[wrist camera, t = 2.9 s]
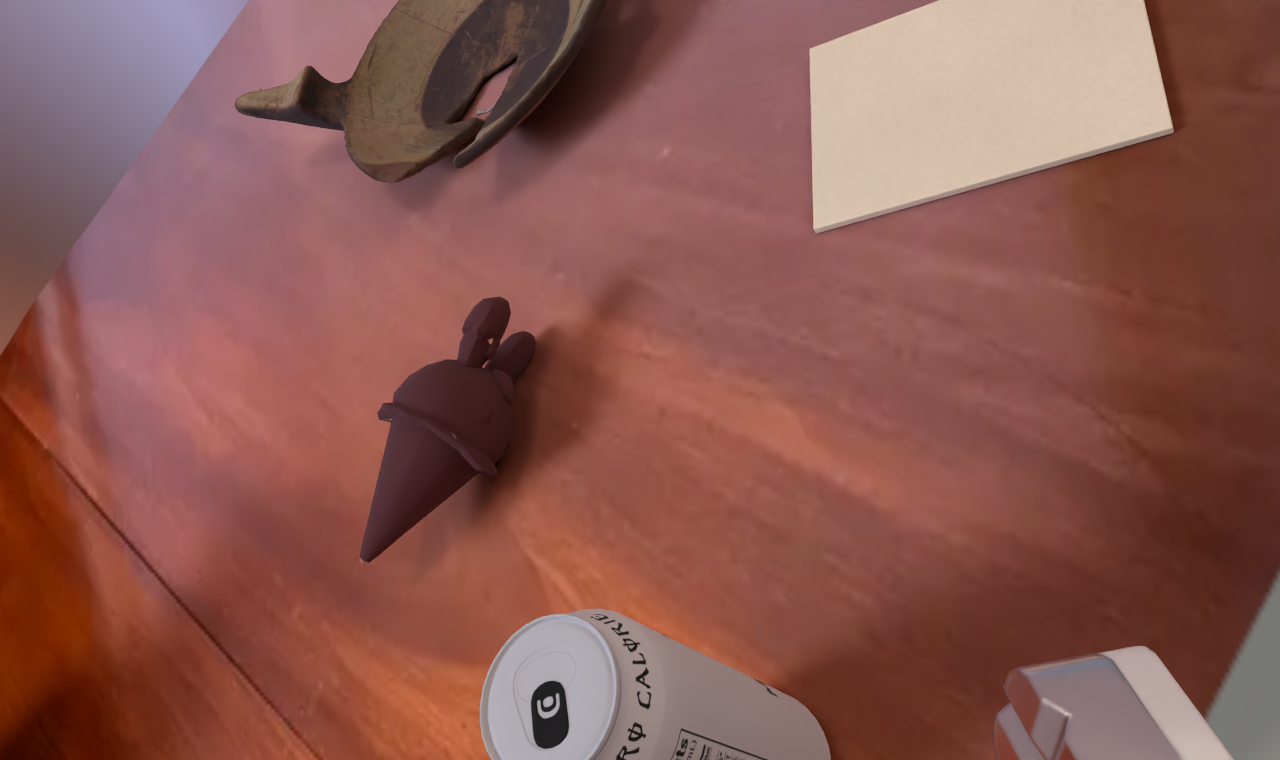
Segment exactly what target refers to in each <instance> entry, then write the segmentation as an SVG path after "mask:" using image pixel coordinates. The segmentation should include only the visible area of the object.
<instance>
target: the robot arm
mask: <svg viewBox="0 0 1280 760" xmlns="http://www.w3.org/2000/svg"><path fill="white" fill-rule="evenodd" d="M1003 690H1004V691H1005V693H1006V695H1007V697H1008V699H1009V701H1010V702H1009V703H1008V704H1007V705H1006V706H1005V707H1004V708H1003V709H1002V710H1001V711H1000V712H999V713H997V714H996V719H995V724H994V729H993V734H992V735H993V742H994V750H995V758H996V760H1234V759H1233V758H1232V756H1231V755H1230V754H1229V752H1228V751H1227V750H1226V748H1225V747H1224V746H1223V744H1222V743H1221V742H1220V740H1219V739H1218V737H1217V736H1216V735H1215V733H1214V732H1213V731H1212V729H1211V728H1210V727H1209V725H1208V724H1207V722H1206V721H1205V720H1204V718H1203V717H1202V716H1201V714H1200V713H1199V712H1198V710H1197V709H1196V708H1195V706H1194V705H1193V704H1192V702H1191V701H1190V700H1189V698H1188V697H1187V695H1186V694H1185V693H1184V691H1183V690H1182V689H1181V687H1180V686H1179V685H1178V683H1177V682H1176V681H1175V679H1174V678H1173V677H1172V675H1171V674H1170V673H1169V671H1168V670H1167V668H1166V667H1165V666H1164V664H1163V663H1162V662H1161V660H1160V659H1159V658H1158V656H1157V655H1156V654H1155V653H1154V652H1153V651H1151V650H1150V649H1148V648H1147V647H1145V646H1132V647H1127V648H1122V649H1117V650H1112V651H1107V652H1101V653H1095V652H1094V653H1089V654H1083V655H1078V656H1073V657H1068V658H1063V659H1057V660H1052V661H1047V662H1042V663H1037V664H1031V665H1026V666H1021V667H1016V668H1014V669H1013V670H1012V671H1010V672H1009V673H1008V674H1007V677H1006V681H1005V684H1004V688H1003Z"/></svg>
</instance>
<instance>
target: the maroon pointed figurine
mask: <svg viewBox="0 0 1280 760" xmlns="http://www.w3.org/2000/svg"><path fill="white" fill-rule="evenodd" d="M510 313H511V311H510V307H509V302H508V301H507V300H505V299H504V298H501V297H495V298H488V299H483V300H482V301H481V302H479V303H478V304H477V305H476V306H474V308H473V309H472V311H471V312H470V314H469V316H468V317H467V319H466V321H465V323H464V326H463V329H462V331H463V334H464V335H463V337H462V340H461V342H460V347H459V353H458V359H457V360H448V359H447V360H443V361H440V362H436V363H433V364H429V365H426V366H425V367H423V368H421V369H420V370H418V371H416V372H415V373H413V374H411V375H410V376H409V377H408V378H407V379H406V380H405V381H404V382H403V384H402V385H401V386H400V387H399V388H398V389H397V391H396V392H395V393H394V398H393V403H383V404H382V407H381V409H380V410H379V411H378V417H379V420H384V421H388V422H391V426H390V430H389V435H388V439H387V443H386V447H385V451H384V456H383V460H382V464H381V468H380V472H379V476H378V481H377V485H376V489H375V493H374V497H373V502H372V506H371V510H370V514H369V518H368V522H367V526H366V530H365V535H364V539H363V543H362V548H361V553H360V558H361V559H362V560H363V561H366V562H371V561H372V560H373V559H374V558H376V557H377V556H378V555H380V554H381V553H382V552H383V551H384V550H386V549H387V548H388V547H389V546H390V545H391V544H393V543H394V542H395V541H396V540H397V539H398V538H400V537H401V536H402V535H403V534H404V533H406V532H407V531H408V530H409V529H411V528H412V527H413V526H414V525H415V524H417V523H418V522H419V521H420V520H422V519H423V518H424V517H425V516H426V515H428V514H429V513H430V512H431V511H433V510H434V509H435V508H436V507H437V506H439V505H440V504H441V503H442V502H444V501H445V500H446V499H447V498H448V497H450V496H451V495H452V494H453V493H455V492H456V491H457V490H458V489H459V488H461V487H462V486H463V485H464V484H466V483H467V482H468V481H469V480H470V479H472V478H473V477H474V476H475V475H477V474H478V473H481V474H482V475H483V476H485V477H486V478H495V477H496V475H497V474H498V472H497V469H496V467H495V463H496V462H497V461H499V460H500V459H501V458H502V456H503V454H504V452H505V450H506V448H507V446H508V444H509V443H510V442H511V441H512V439H513V429H512V425H513V415H512V409H511V403H512V402H514V400H515V395H516V390H515V387H514V384H513V381H514V380H515V379H516V378H517V377H518V376H519V375H520V374H521V373H522V372H523V371H524V369H525V367H526V365H527V363H528V362H529V360H530V358H531V356H532V354H533V352H534V349H535V344H536V341H535V337H534V336H533V335H532V334H530V333H528V332H525V331H521V332H518V333H515V334H512V335H511V336H509V337H508V338H507V339H506V340H505V341H504V342H502V343H501V344H500V345H499V343H500V340H501V338H502V336H503V334H504V332H505V330H506V327H507V325H508V322H509V318H510ZM487 360H489V361H488V363H487V364H486V366H485V368H482V366H483V365H484V364H485V363H486V361H487Z"/></svg>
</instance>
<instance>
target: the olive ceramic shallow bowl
mask: <svg viewBox="0 0 1280 760" xmlns="http://www.w3.org/2000/svg"><path fill="white" fill-rule="evenodd" d="M606 2H607V0H399V1H398V2H397V4H395V6H394V8H393V9H391V11H390V13H389V15H388V16H387V17H386V18H385V19H384V20H383V22H382V24H381V25H380V27H378V30H377V31H376V32H375V34H374V36H373V38H372V39H371V40H370V42H369V44H368V45H367V48H366V50H365V52H364V54H363V56H362V58H361V60H360V62H359V64H358V66H357V69H356V71H355V72H354V75H353V76H352V78H351V79H349V80H347V81H345V82H342V83H333V82H330V81H328V80H327V79H325V78H323V77H322V76H321V75H320V74H319V73H318V72H317V71H316V70H315V69H314V68H313V67H312V66H306V67H305V68H304V69H303V70H302V71H301V73H300V74H299V75H298V76H297V77H296V78H295V79H294V80H292V81H290V82H289V83H287V84H285V85H282V86H278V87H273V88H271V89H267V90H261V89H260V90H259V91H256V92H249V93H246V94H244V95H242V96H240V97H239V98H238V99H237V100H236V101H235V107H236V109H237V110H238V112H239V113H242V114H245V115H249V116H253V117H257V118H263V119H270V120H279V121H286V122H291V123H297V124H302V125H308V126H315V127H321V128H327V129H334V130H342V131H344V133H345V137H344V138H345V141H346V147H347V151H348V154H349V156H350V157H351V159H352V160H353V162H354V163H355V164H356V166H357V167H359V169H360V170H362V171H363V172H364V173H365V174H367V175H368V176H370V177H371V178H373V179H375V180H377V181H382V182H388V183H395V182H399V181H401V180H403V179H406V178H409V177H410V176H413V175H415V174H416V173H419V172H421V171H422V170H423V169H425V168H426V167H428V166H430V165H432V164H434V163H435V162H437V161H439V160H440V159H442V158H443V157H444V156H446V155H449V154H451V152H452V151H454V150H455V149H457V147H459V146H460V145H461V144H463V143H465V142H467V141H468V140H469V138H470V137H471V136H473V135H474V134H476V133H477V132H478V130H479V129H480V128H481V130H480V132H479V133H478V135H477V136H476V139H475V141H474V142H473V143H471V144H470V145H469V146H468V147H467V148H465V149H464V150H462V151H461V152H459V153H458V154H457V155H456V156H455V157H454V160H453V164H454V166H455V167H456V168H463V167H464V166H466V165H468V164H469V163H471V162H473V161H474V160H475V159H477V158H478V157H480V156H481V155H483V154H484V153H485V152H487V151H488V150H489V149H491V148H492V147H493V146H495V145H496V144H497V143H498V142H500V141H501V140H502V139H503V138H504V137H505V136H506V135H507V134H509V133H510V132H511V131H512V130H513V129H514V128H515V127H517V126H518V125H519V124H520V123H521V122H522V121H523V120H524V119H525V118H526V117H527V116H529V115H530V114H531V113H532V112H533V111H534V110H535V108H536V107H537V106H538V105H539V104H540V103H541V102H542V101H543V100H544V99H545V97H546V96H547V95H548V94H549V93H550V91H551V90H552V89H553V88H554V87H555V85H556V84H557V83H558V81H559V80H560V78H561V77H562V76H563V74H564V73H565V71H566V70H567V69H568V67H569V66H570V65H571V63H572V62H573V60H574V59H575V58H576V56H577V54H578V53H579V51H580V50H581V48H582V46H583V45H584V43H585V42H586V40H587V38H588V37H589V35H590V33H591V32H592V30H593V29H594V26H595V24H596V22H597V20H598V18H599V16H600V13H601V12H602V9H603V7H604V6H605V4H606ZM515 58H517V60H516V64H515V67H514V69H513V71H512V73H511V75H510V76H509V77H508V83H507V84H506V86H505V89H504V91H503V92H502V95H501V96H500V98H499V99H498V101H497V102H496V105H495V106H494V109H493V110H492V111H491V113H490V115H489V116H488V117H487V120H486V122H485V121H483V120H481V119H479V118H471V119H470V120H465V121H462V122H458V123H455V122H456V121H457V120H458V119H459V118H461V116H462V115H463V113H464V111H465V110H466V108H467V107H468V105H469V104H470V102H471V101H472V99H473V97H474V96H475V95H476V93H477V91H478V89H479V87H480V86H481V85H482V84H483V82H484V80H485V79H487V78H488V77H489V76H490V75H491V74H493V73H496V72H497V71H498V70H500V69H501V68H502V67H504V66H506V65H507V64H509V63H511V62H512V61H513V59H515ZM492 107H493V106H492ZM492 107H491V108H490V109H488V110H485V111H478V110H477V113H478V115H479V114H480V113H485V112H487V111H489V110H491V109H492ZM482 126H483V127H482Z"/></svg>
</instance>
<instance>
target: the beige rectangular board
mask: <svg viewBox="0 0 1280 760" xmlns="http://www.w3.org/2000/svg"><path fill="white" fill-rule="evenodd" d="M810 88H811V134H812V179H813V225H814V231H815V232H816V233H820V232H824V231H827V230H831V229H834V228H838V227H841V226H845V225H848V224H852V223H856V222H859V221H863V220H866V219H870V218H873V217H877V216H880V215H884V214H887V213H891V212H895V211H898V210H902V209H905V208H909V207H912V206H916V205H919V204H923V203H926V202H930V201H934V200H937V199H941V198H944V197H948V196H951V195H955V194H958V193H962V192H966V191H969V190H973V189H976V188H980V187H983V186H987V185H990V184H994V183H997V182H1001V181H1005V180H1008V179H1012V178H1015V177H1019V176H1022V175H1026V174H1029V173H1033V172H1036V171H1040V170H1044V169H1047V168H1051V167H1054V166H1058V165H1061V164H1065V163H1068V162H1072V161H1075V160H1079V159H1083V158H1086V157H1090V156H1093V155H1097V154H1100V153H1104V152H1107V151H1111V150H1114V149H1118V148H1122V147H1125V146H1129V145H1132V144H1136V143H1139V142H1143V141H1146V140H1150V139H1154V138H1157V137H1161V136H1164V135H1168V134H1171V133H1174V129H1173V125H1172V120H1171V116H1170V112H1169V107H1168V103H1167V99H1166V94H1165V90H1164V85H1163V81H1162V77H1161V72H1160V68H1159V64H1158V59H1157V55H1156V50H1155V46H1154V42H1153V37H1152V33H1151V29H1150V24H1149V20H1148V16H1147V11H1146V7H1145V2H1144V0H939V1H936V2H933V3H931V4H928V5H925V6H923V7H920V8H917V9H915V10H912V11H909V12H907V13H904V14H901V15H899V16H896V17H893V18H891V19H888V20H885V21H883V22H880V23H877V24H875V25H872V26H869V27H866V28H864V29H861V30H858V31H856V32H853V33H850V34H848V35H845V36H842V37H840V38H837V39H834V40H832V41H829V42H826V43H824V44H821V45H818V46H816V47H813V48H810Z"/></svg>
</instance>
